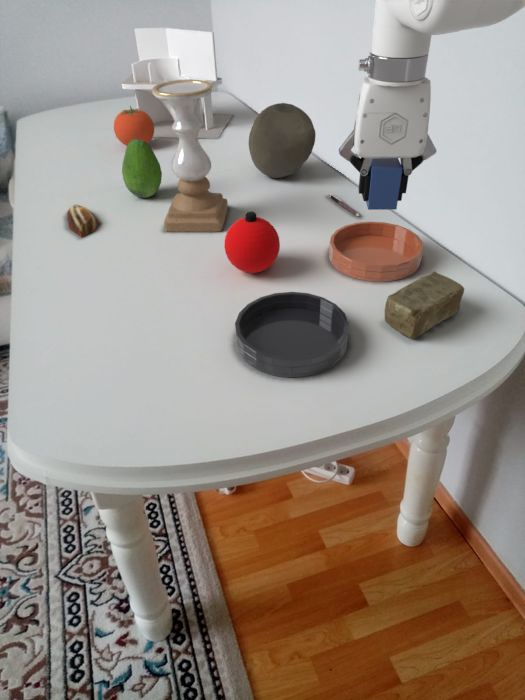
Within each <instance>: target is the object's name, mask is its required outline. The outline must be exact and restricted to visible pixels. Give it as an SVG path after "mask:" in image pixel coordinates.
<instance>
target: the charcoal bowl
mask: <svg viewBox="0 0 525 700" xmlns="http://www.w3.org/2000/svg"><path fill="white" fill-rule="evenodd" d="M346 315H347V314H346V313H345V312H344V311H343V310H342V308H341V307H339V306H338V305H337V304H336V303H335V302H333V301H331V300H329V299H327V298H325V297H323V296H319V295H317V294H312V293H308V292H301V291H300V292H299V291H285V292H275V293H271V294H267V295H264V296H260V297H258V298H256V299H254V300H253V301H251V302H249V303H247V304H246V305H245V306H244V307H243V308H242V310H241V311H240V312H238V314H237V317H236V319H235V322H234V327H235V328H234V329H235V340H236V347H237V350H238V353H239V355H240V356H241V358H242V359H243V360H244V362H246V363H247V364H248V365H249V366H250V367H252V368H254V369H255V370H257V371H259V372H262V373H264V374H267V375H269V376H274V377H282V378H304V377H310V376H314V375H318V374H321V373H323V372H326V371H328V370H329V369H331V368H333V367H334V366H335V365H337V363H338V362H339V361H341V359H342V358H343V357H344V355H345V353H346V351H347V346H348V339H349V329H350V328H349V327H350V322H349V320H348V317H347V316H346Z"/></svg>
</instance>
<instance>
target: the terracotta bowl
mask: <svg viewBox="0 0 525 700" xmlns="http://www.w3.org/2000/svg"><path fill="white" fill-rule="evenodd" d="M334 231H335V232H334V233H332V234H331V235H330V240H329V249H328V250H329V251H328V255H329V261H330V263H331V265H332V266H333V267H334V268H335V269H336V270H337V271H338V272H339V273H341V274H343V275H345V276H348V277H350V278H353V279H356V280H359V281H360V280H361V281H366V282H374V283H375V282H377V283H378V282H379V283H381V282H391V281H399V280H401V279H405V278H408V277H409V276H411V275H413V274H414V273H416V271H417V270H418V269H419V267H420V265H421V262H422V257H423V252H424V242H423V240H422V239H421V237H420V236H419V235H418V234H417V233H415V232H414V231H412V230H411V229H409V228H406V227H405V226H401V225H399V224H394V223H389V222H385V221H360V222H359V221H358V222H354V223H349V224H346V225H344V226H342V227H340V228H338V229H336V230H334Z"/></svg>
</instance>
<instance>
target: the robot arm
mask: <svg viewBox="0 0 525 700" xmlns="http://www.w3.org/2000/svg"><path fill="white" fill-rule="evenodd" d="M523 8H525V0H375V4H374V13H373V14H374V15H373V24H372V36H371V46H370V51H369V55H368V56H367V57H366V58H363V59H362V58H361V59H358V71H360V72H361V71H362V72H364V73H366V74H368V76H366V77H364V78H363V81H362V84H361V87H360V91H359V95H358V99H357V106H356V112H355V119H354V126H353V129H352V131H351V132H350V134H349V135H348V136H347V137H346V139H345V140H344V141H343V143H342V144H341V145H340V146H339V148H338V154H339V156H341V157H342V158H343V159H344V160H346V161H347V162H349V163H350V165H352V166H353V167H354V168H355V170H357V172H358V173H359V179H358V194H359V195H361V196H362V200H363V202H366V201H367V200H368V199H369V190H370V180H371V176H370V171H369V169H370V166H371V163H372V160H373V158H398V159H399V161H400V164H401V166H402V168H403V169H402V175H401V182H400V189H399V196H398V202H401V201H402V199H403V194H407V188H408V181H409V177H410V176H411V175H412V174H413V171H414V170H415V169H417V168H418V167H419V166H420V165H421V164H422V163H423V162H424V161H426V160H428V159H430V158H431V157H432V156H434V155H435V154H437V148H436V146H435V144H434V142H433V141H432V139H431V137H430V135H429V123H430V112H431V100H432V99H431V97H432V94H431V93H432V92H431V91H432V85H431V80H430V79H429V78H428V77H426V73H427V67H428V60H429V53H430V47H431V40H432V36H440V35H445V34H451V33H458V32H460V31H466V30H472V29H479V28H485V27H490V26H493V25H496V24H498V23H500V22H502V21H505V20H506V19H508V18H510V17H512V16H513V15H514V14H517V12H519V11H520V10H522V9H523ZM352 149H354V151H353V150H352Z"/></svg>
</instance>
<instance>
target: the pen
mask: <svg viewBox="0 0 525 700" xmlns="http://www.w3.org/2000/svg"><path fill="white" fill-rule="evenodd" d="M328 196H329V198H330V199H331V200H332V201H334V202H335V203H337V204H338V205H339V206H341V207H342V208H344V209H345V210H347V211H348V212H350V213H351V214H353V215H354V216H356V217H361V215H360V214H359V212H358V211H356V210H355V209H353V208H352V207H351V206H350V205H347V204H346V203H345V202H344V201H343V200H342V199H341V198H339V197H338V196H337V195H335V194H333V193H330V194H329V195H328Z"/></svg>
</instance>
